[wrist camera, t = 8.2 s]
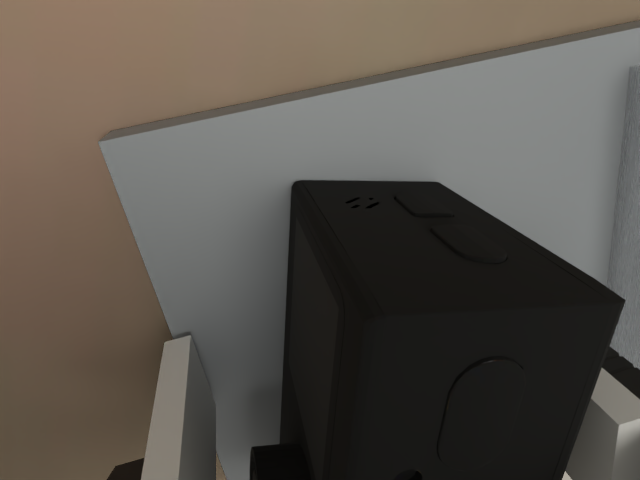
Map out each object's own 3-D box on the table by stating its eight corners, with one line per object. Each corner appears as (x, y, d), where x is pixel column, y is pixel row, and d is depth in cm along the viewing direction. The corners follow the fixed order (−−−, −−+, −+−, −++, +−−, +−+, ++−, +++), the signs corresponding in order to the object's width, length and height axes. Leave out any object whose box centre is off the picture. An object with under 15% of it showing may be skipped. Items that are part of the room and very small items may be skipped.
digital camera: (246, 174, 12) (281, 318, 6) (437, 176, 13) (637, 298, 7) (244, 465, 16) (262, 738, 10) (391, 448, 17) (493, 682, 11)
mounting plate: (238, 480, 18) (240, 515, 17) (110, 131, 12) (97, 142, 11) (639, 357, 20) (669, 380, 19) (693, 8, 15) (743, 5, 13)
